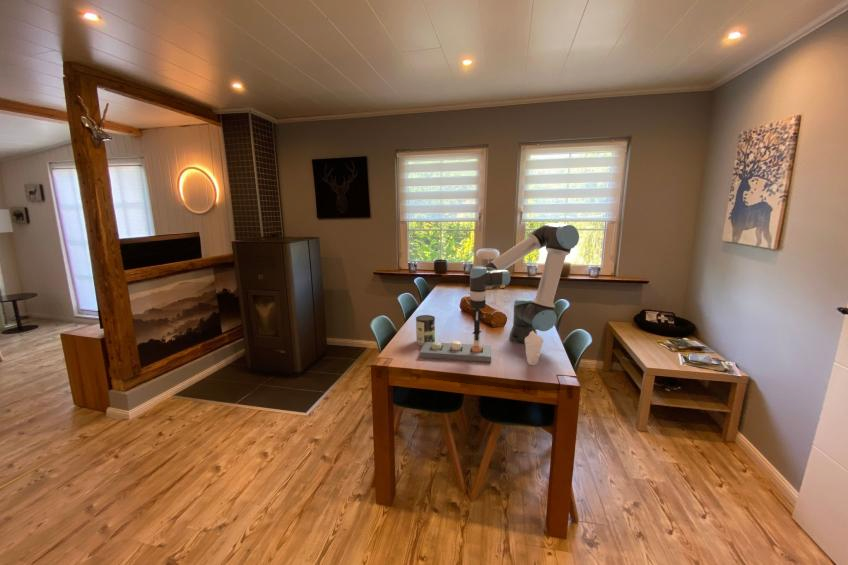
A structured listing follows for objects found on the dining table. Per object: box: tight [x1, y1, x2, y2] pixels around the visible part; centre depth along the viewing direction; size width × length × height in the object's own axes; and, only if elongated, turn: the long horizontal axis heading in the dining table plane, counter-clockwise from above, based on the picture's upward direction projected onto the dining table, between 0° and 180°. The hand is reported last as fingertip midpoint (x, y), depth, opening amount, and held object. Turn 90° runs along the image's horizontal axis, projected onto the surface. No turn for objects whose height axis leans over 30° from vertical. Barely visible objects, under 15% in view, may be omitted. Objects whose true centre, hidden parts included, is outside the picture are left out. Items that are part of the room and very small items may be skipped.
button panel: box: [419, 342, 492, 363], centre depth 171 cm, size 34×14×3 cm, turn 80°
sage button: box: [431, 341, 442, 350], centre depth 173 cm, size 5×5×4 cm
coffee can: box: [415, 314, 436, 346], centre depth 187 cm, size 10×10×14 cm
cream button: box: [450, 340, 462, 351], centre depth 171 cm, size 5×5×4 cm
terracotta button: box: [471, 344, 482, 353], centre depth 169 cm, size 5×5×4 cm
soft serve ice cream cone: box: [524, 331, 544, 366], centre depth 159 cm, size 8×8×16 cm
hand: (476, 345), depth 169 cm, fingers closed
